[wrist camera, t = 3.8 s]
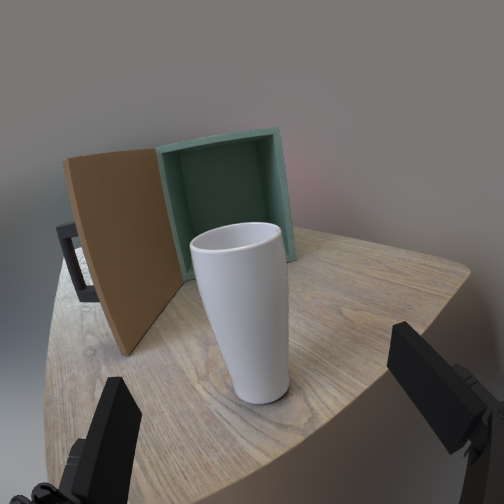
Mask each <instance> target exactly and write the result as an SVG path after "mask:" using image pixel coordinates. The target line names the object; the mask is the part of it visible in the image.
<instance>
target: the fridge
mask: <svg viewBox="0 0 504 504" xmlns="http://www.w3.org/2000/svg"><path fill="white" fill-rule="evenodd" d="M155 149H156V155H157V160H158V166H159V172H160V177H161V182H162V187H163V193H164V198H165V203H166V207H167V212H168V217H169V221H170V226H171V231H172V235H173V239H174V244H175V248H176V252H177V256H178V261H179V265H180V269H181V273H182V277H183V281H186V280H192V279H196V278H195V273H194V268H193V263H192V257H191V251H190V242H191V241H192V240H193V239H194V238H195V237H197V236H198V235H200V234H202V233H204V232H207V231H209V230H212V229H216V228H219V227H223V226H227V225H233V224H239V223H249V222H264V223H271V224H275V225H277V226H279V227H280V228H281V231H282V237H283V242H284V248H285V254H286V262H291V261H296V255H295V246H294V237H293V228H292V219H291V211H290V203H289V195H288V187H287V179H286V172H285V164H284V157H283V151H282V143H281V137H280V130H279V127H271V128H263V129H256V130H248V131H241V132H234V133H227V134H221V135H215V136H210V137H204V138H199V139H194V140H188V141H184V142H179V143H174V144H169V145H165V146H161V147H156V148H155Z"/></svg>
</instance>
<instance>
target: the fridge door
mask: <svg viewBox="0 0 504 504" xmlns="http://www.w3.org/2000/svg"><path fill="white" fill-rule="evenodd" d="M62 162H63V168H64V174H65V179H66V184H67V189H68V194H69V199H70V203H71V208H72V211H73V216H74V220H75V221H73V222H69V223H65V224H62V225H59V226H57V227H56V230H57V234H58V238H59V241H60V245H61V248H62V251H63V255H64V258H65V261H66V264H67V267H68V270H69V273H70V276H71V279H72V282H73V285H74V287H75V290H76V293H77V296H78V298H79V301H80V302H100V303H101V306H102V308H103V311H104V314H105V316H106V319H107V321H108V324H109V326H110V328H111V331H112V333H113V336H114V338H115V340H116V342H117V345H118V347H119V349H120V351H121V354H122V355H125V356H129V354H130V353H131V351H132V350H133V349H134V347H135V346H136V345H137V343H138V342H139V341H140V339H141V338H142V337H143V335H144V334H145V333H146V331H147V330H148V328H149V327H150V326H151V324H152V323H153V322H154V320H155V319H156V318H157V317H158V315H159V314H160V313H161V311H162V310H163V309H164V307H165V306H166V305H167V303H168V302H169V301H170V299H171V298H172V297H173V296H174V294H175V293H176V292H177V290H178V289H179V288H180V286H181V285H182V284H183V283H184V281H183V277H182V273H181V269H180V265H179V261H178V256H177V252H176V248H175V244H174V239H173V235H172V231H171V226H170V221H169V217H168V212H167V207H166V203H165V198H164V193H163V187H162V182H161V177H160V172H159V166H158V160H157V155H156V149H155V148H153V149H152V148H151V149H140V150H128V151H118V152H110V153H101V154H93V155H86V156H80V157H72V158H67V159H65V160H63V161H62ZM76 236H79V239H80V242H81V246H82V249H83V253H84V256H85V259H86V263H87V266H88V269H89V272H90V275H91V278H92V281H93V284H94V285H91V286H86V284H85V281H84V278H83V275H82V272H81V269H80V266H79V263H78V260H77V256H76V253H75V250H74V246H73V243H72V240H71V237H76Z"/></svg>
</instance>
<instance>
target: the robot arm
mask: <svg viewBox="0 0 504 504" xmlns="http://www.w3.org/2000/svg"><path fill="white" fill-rule="evenodd" d="M387 367H388V369H389V370H390V371H391V373H392V374H393V375H394V377H395V378H396V380H397V381H398V382H399V384H400V385H401V386H402V388H403V389H404V390H405V392H406V393H407V394H408V396H409V397H410V399H411V400H412V401H413V403H414V404H415V405H416V407H417V408H418V410H419V411H420V412H421V414H422V415H423V416H424V418H425V419H426V421H427V422H428V423H429V425H430V426H431V428H432V429H433V431H434V432H435V434H436V435H437V436H438V438H439V439H440V441H441V442H442V444H443V445H444V447H445V448H446V449H447V451H448V452H449V454H450V455H451V454H453V453H454V452H456V451H457V450H459V449H461V448H462V447H464V445H465V444H466V442H467V441H468V439H469V440H470V441H471V445H470V446H469V448H468V449H467V451H466V452H465V454H464V457H466V455H467V454H468V453H469V457H468V464H467V469H466V474H465V479H464V484H463V489H462V493H461V498H460V502H459V504H504V401H503V402H499V401H498V400H497V399H496V398H494V396H493V395H492V394H491V393H490V392H489V391H488V390H487V389H486V388H485V387H484V386H483V385H482V384H481V383H480V382H478V380H477V379H476V378H475V377H473V375H472V374H471V373H470V371H469V370H468V369H467V368H465V367H463V366H461V365H459V364H455V365H453V366H450V365H449V364H448V363H447V362H446V361H445V360H444V359H443V358H442V357H441V356H440V355H439V354H438V353H437V352H436V351H435V350H434V349H433V348H432V347H431V346H430V345H429V344H428V343H427V342H426V341H425V340H424V339H423V338H422V337H421V336H420V335H419V334H418V333H417V332H416V331H415V330H414V329H413V328H412V327H411V326H410V325H409V324H408V323H407V322H406V321H404V322H401V323H398V324H395V325H393V328H392V336H391V343H390V350H389V356H388V363H387ZM141 418H142V413H141V411H140V409H139V408H138V406H137V404H136V402H135V401H134V399H133V397H132V395H131V393H130V392H129V390H128V388H127V386H126V384H125V382H124V380H123V378H122V377H108V379H107V381H106V384H105V387H104V389H103V392H102V394H101V397H100V400H99V403H98V405H97V408H96V411H95V414H94V417H93V419H92V422H91V425H90V428H89V431H88V434H87V437H86V439H79V438H78V440H77V441H76V442H75V443H74V445H73V446H72V448H71V451H70V454H69V458H68V460H67V465H66V466H65V469H64V472H63V476H62V479H61V482H60V486H59V489H56V488H55V487H54V486H53V485H51V484H49V483H40V484H38V485H37V486H35V488H34V489H33V490H32V494H31V497H32V501H30V500H29V499H28V498H26V497H25V496H23V495H17V496H14V497H13V498H12V499H11V501H10V504H127V501H128V493H129V486H130V479H131V473H132V467H133V461H134V455H135V449H136V444H137V438H138V433H139V428H140V423H141Z"/></svg>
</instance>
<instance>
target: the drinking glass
mask: <svg viewBox="0 0 504 504" xmlns="http://www.w3.org/2000/svg"><path fill="white" fill-rule="evenodd" d="M190 251H191V257H192V263H193V268H194V273H195V278H196V282H197V286H198V290H199V293H200V297H201V300H202V303H203V306H204V309H205V312H206V315H207V317H208V320H209V323H210V326H211V328H212V331H213V334H214V336H215V339H216V341H217V344H218V347H219V349H220V352H221V355H222V357H223V360H224V362H225V365H226V368H227V370H228V373H229V375H230V378H231V381H232V385H233V388H234V391H235V393H236V394H237V396H238V397H239V398H240V399H242V400H243V401H245V402H248V403H251V404H267V403H271V402H273V401H276V400H277V399H279V398H280V397H282V396H283V395H284V394H285V393H286V391H287V390H288V388H289V384H290V374H289V285H288V271H287V262H286V254H285V248H284V242H283V237H282V231H281V228H280V227H279V226H277V225H275V224H271V223H264V222H249V223H239V224H233V225H227V226H223V227H219V228H216V229H212V230H209V231H207V232H204V233H202V234H200V235H198V236H197V237H195V238H194V239H193V240H192V241H191V242H190Z"/></svg>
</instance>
